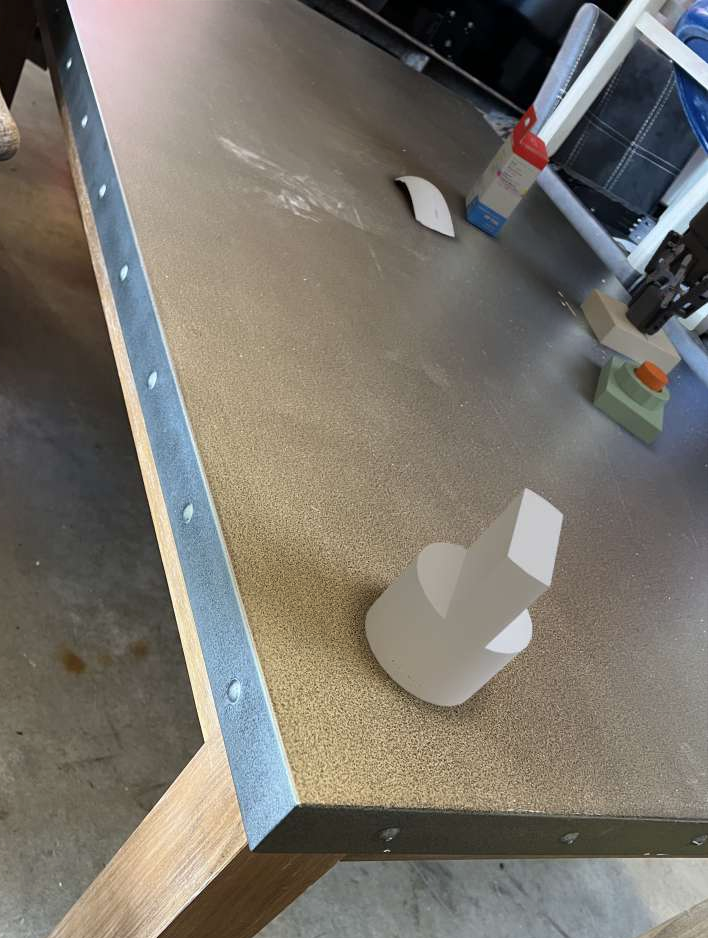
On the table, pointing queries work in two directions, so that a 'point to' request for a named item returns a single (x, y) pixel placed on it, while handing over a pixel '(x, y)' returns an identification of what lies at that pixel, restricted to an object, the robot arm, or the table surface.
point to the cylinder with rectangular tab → (466, 605)
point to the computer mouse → (429, 205)
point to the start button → (651, 376)
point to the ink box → (507, 177)
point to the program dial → (645, 305)
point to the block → (630, 399)
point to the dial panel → (627, 333)
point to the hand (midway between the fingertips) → (639, 320)
